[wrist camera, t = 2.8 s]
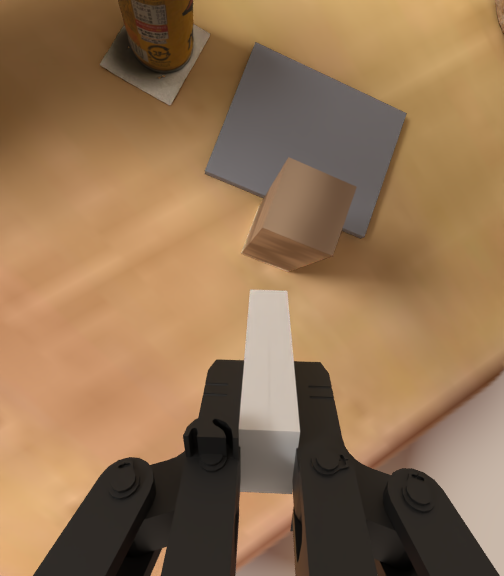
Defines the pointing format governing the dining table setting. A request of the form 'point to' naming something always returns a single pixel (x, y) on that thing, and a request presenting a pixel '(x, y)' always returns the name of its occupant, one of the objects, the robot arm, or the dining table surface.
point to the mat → (305, 132)
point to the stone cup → (500, 12)
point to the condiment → (156, 46)
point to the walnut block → (299, 218)
